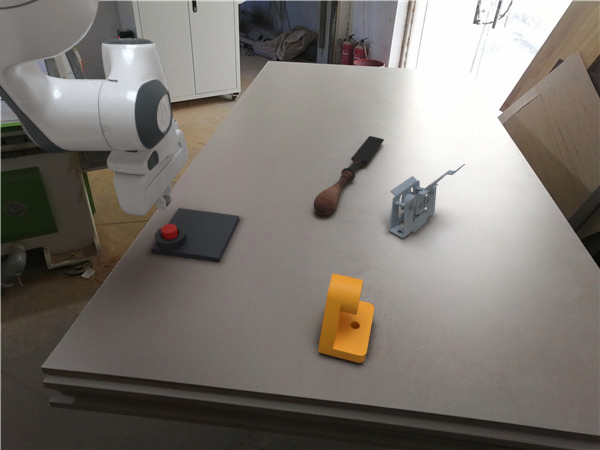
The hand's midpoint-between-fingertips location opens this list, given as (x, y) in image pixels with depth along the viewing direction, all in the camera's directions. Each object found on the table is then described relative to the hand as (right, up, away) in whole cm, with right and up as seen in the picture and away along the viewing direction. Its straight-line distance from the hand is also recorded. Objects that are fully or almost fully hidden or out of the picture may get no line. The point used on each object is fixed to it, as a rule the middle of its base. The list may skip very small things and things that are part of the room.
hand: (164, 205), depth 77 cm
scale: (+4, -6, +9) cm, 11 cm away
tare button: (0, -6, +4) cm, 7 cm away
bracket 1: (+34, -22, -10) cm, 41 cm away
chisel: (+39, +9, +30) cm, 50 cm away
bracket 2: (+51, -4, +14) cm, 53 cm away
